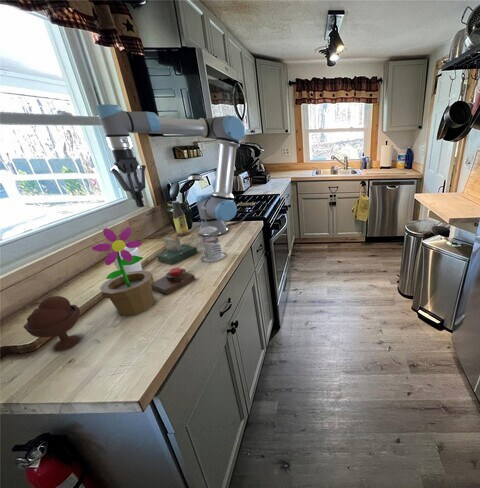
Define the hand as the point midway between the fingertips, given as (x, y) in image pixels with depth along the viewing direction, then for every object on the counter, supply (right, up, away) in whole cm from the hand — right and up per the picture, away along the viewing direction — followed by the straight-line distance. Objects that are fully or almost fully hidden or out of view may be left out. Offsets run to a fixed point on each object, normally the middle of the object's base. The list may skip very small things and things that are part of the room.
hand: (140, 206), depth 112 cm
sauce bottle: (-5, -11, +42) cm, 44 cm away
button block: (+20, -32, -9) cm, 39 cm away
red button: (+21, -28, -9) cm, 36 cm away
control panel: (+9, -22, +14) cm, 28 cm away
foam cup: (+1, -31, -5) cm, 32 cm away
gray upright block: (+8, -20, +12) cm, 25 cm away
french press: (+26, -23, +11) cm, 37 cm away
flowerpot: (+15, -38, -22) cm, 47 cm away
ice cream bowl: (+6, -45, -38) cm, 59 cm away
